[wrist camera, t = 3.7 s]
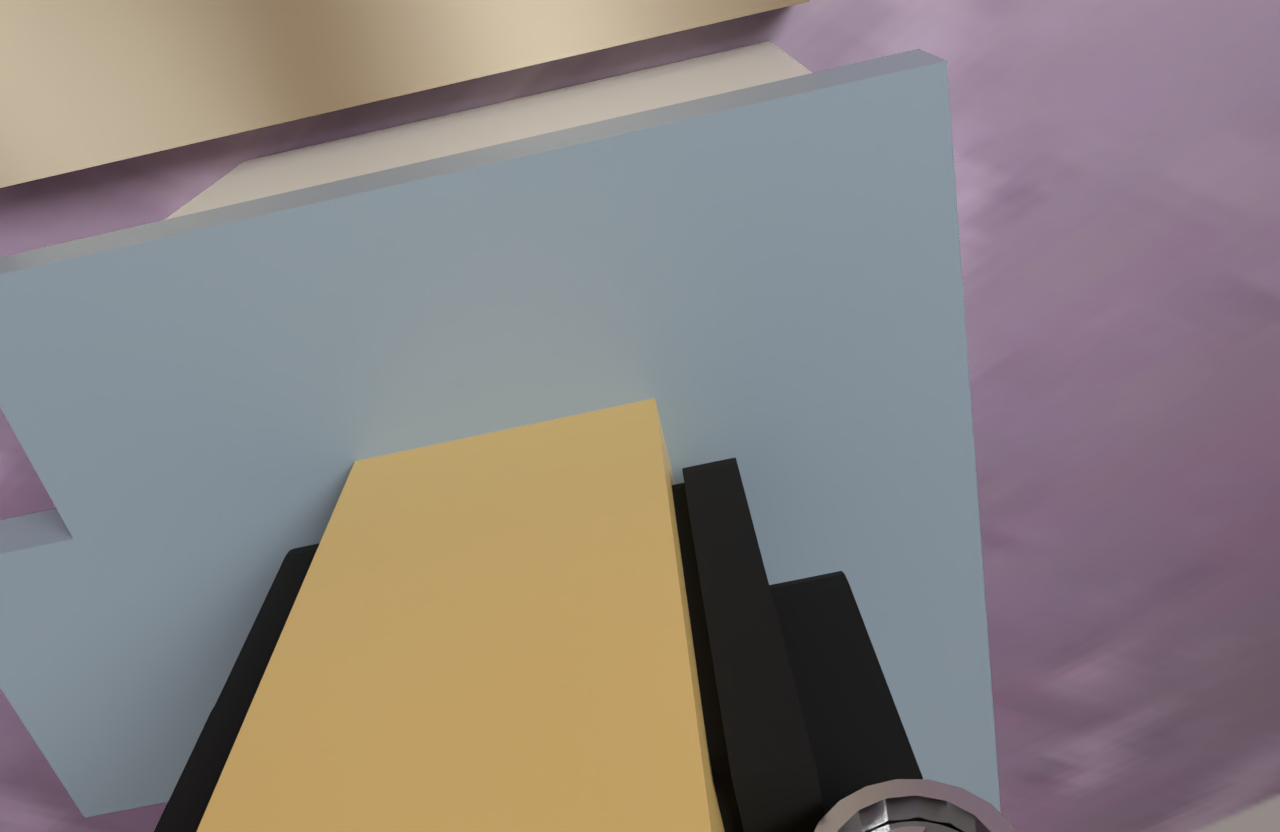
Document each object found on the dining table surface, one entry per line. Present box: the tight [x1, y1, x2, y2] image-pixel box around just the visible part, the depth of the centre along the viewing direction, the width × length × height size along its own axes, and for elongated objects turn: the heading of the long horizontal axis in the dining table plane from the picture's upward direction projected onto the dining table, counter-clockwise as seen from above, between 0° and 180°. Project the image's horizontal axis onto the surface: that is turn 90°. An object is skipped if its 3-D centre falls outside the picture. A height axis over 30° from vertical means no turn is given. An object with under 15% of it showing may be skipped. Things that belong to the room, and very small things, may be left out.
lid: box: [0, 49, 1001, 832], centre depth 8 cm, size 11×9×7 cm
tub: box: [165, 41, 812, 220], centre depth 14 cm, size 8×8×6 cm
